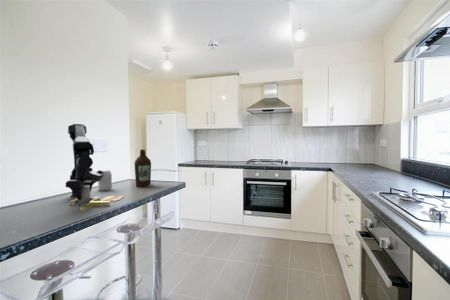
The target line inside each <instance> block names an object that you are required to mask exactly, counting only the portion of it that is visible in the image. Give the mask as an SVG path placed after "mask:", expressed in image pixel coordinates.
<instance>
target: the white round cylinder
mask: <svg viewBox="0 0 450 300" xmlns="http://www.w3.org/2000/svg"><path fill="white" fill-rule="evenodd" d="M83 186H85V187H84V188H83V189H82V197H81V200H78V204H77V205H78V206H80V207H81V204H84V203H86V204H87V203H89V201H90V197H91V192H90V185H83Z"/></svg>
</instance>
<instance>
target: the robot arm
mask: <svg viewBox="0 0 450 300" xmlns="http://www.w3.org/2000/svg"><path fill="white" fill-rule="evenodd" d="M67 133H68V135H69V138H70V139H71V141H72V153H73V163H74V167H73V169H72V171H71V174H70V175H69V180H67V181H66V182H65V188H69V189H70V190H71V195H70V197H71V198H72V197H76V198H77V199H78V200H81V197H82V189H83V188H84V187H85V186H83V185H90V193H92V192H91V191H92V188H93V186H94V184H96V183H98V181H101V179H102V177H103V171H104V170H101V169H99V170H97V171H93V167H92V166H93V164H94V163H93V162H94V160H93V158H91V155H92V156H93V155H94V153H95V149H94V145H93V143H92V142H91V141H90V139H89V138H87V136H86V134H87V126H86V125H85V124H84V123H72V124H70V125H68V127H67Z"/></svg>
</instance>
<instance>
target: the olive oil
mask: <svg viewBox="0 0 450 300" xmlns="http://www.w3.org/2000/svg"><path fill="white" fill-rule="evenodd" d="M134 173H135V187H136V188H147V187H146V186H148V187H150V186H151V178H152V174H151V173H152V162H151V160H150V158H149V157H148V156H147V154H146V149H140V150H139V156H138V157H137V158H136V159H135V160H134ZM149 185H150V186H149Z"/></svg>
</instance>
